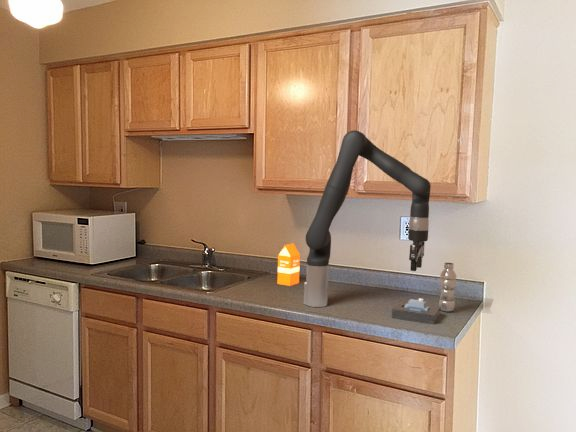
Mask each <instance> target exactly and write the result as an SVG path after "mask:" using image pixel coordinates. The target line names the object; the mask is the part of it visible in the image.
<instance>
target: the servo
mask: <svg viewBox="0 0 576 432" xmlns="http://www.w3.org/2000/svg"><path fill="white" fill-rule="evenodd" d="M407 302H408V304H406V305H405V306H404V307H405V308H409V309H410V310H414V311H421V310H423V311H425V310H426V311H428V310H429V308H430V307H428V306H426V305H427V301H426V300H424V298H423V297H419V298H418V299H413V298H410V299H409V300H408V301H407Z"/></svg>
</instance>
